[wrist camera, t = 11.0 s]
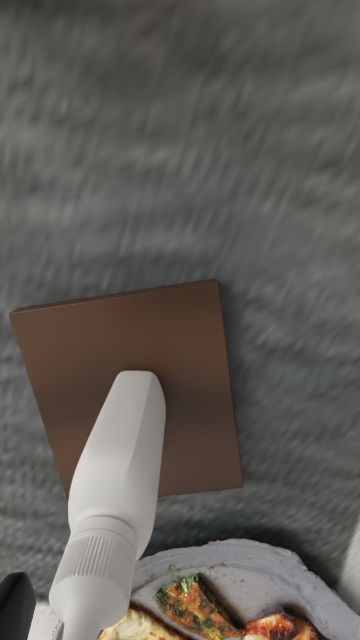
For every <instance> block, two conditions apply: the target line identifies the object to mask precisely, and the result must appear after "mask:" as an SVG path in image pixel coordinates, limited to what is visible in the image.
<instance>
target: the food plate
mask: <svg viewBox="0 0 360 640" xmlns="http://www.w3.org/2000/svg"><path fill="white" fill-rule="evenodd" d="M154 553H155V552H154ZM299 561H300V562H301V563H303V562H302V560H301V559H300V558H299V557H298V555H297V554H296V553H295V552H292V551H290V550H287V549H283V548H281V547H275V546H272V545H271V544H266V543H259V542H257V541H254V540H253V541H251V540H247V539H232V538H229V539H228V540H225V541H221V542H220V541H219V540H218V541H217V542H216V541H214V542H209V543H208V544H205V545H203V546H201V547H198V546H197V547H196V546H194V547H190V548H188V547H187V548H180V549H179V548H177V549H175V548H173V549H172V550H166V551H161V552H158V553H157V554H156V553H155V555H153V556H146V557H144V558H143V559H140V560H139V561H136V562H135V568H134V574H133V581H132V588H131V595H130V601H129V608H128V611H127V612H126V614H125V616H124V617H123V619H121V620H120V621H119V622H118V623H117V624H115V625H114V626H112V627H110V628H107V629H103V630H100V632H99V634H98V636H97V639H96V640H360V616H359V615H358V614H357V613H355V612H354V611H353V609H352V608H351V607H349V605H348V604H347V603H346V602H345V601H344V600H343V599H342V598H341V597H340V596H339V595H338V594H337V593H336V592H335V590H334V589H331V588H330V587H328V586H327V585H326V584H325V582H324V581H323V580H322V579H321V578H320V576H319V575H318V576H316V575H315V574H314V573H313V572H310V571H308V570H307V567H306V566H304V565H305V564H304V563H303V564H304V565H302V564H301V563H300V562H299ZM53 632H54V635H53V634H52V635H53V639H52V640H62V639H63V632H64V622H62V621H61V620H60V619H59V624H57V626H56V630H55V631H53Z"/></svg>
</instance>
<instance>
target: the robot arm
mask: <svg viewBox="0 0 360 640" xmlns="http://www.w3.org/2000/svg"><path fill="white" fill-rule="evenodd" d="M35 606H36V593H35V591H34V588H33V586H32V583H31V581H30V578H29V576H28V574H27V573H26V572H17V573H11V574H9V575H8V576H6V577H5V578H4V579H3V580H2V581H1V582H0V640H27V638H28V634H29V630H30V626H31V622H32V618H33V614H34V610H35Z"/></svg>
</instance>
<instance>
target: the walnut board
mask: <svg viewBox="0 0 360 640" xmlns="http://www.w3.org/2000/svg"><path fill="white" fill-rule="evenodd" d="M9 316H10V319H11V322H12V325H13V328H14V331H15V335H16V338H17V341H18V344H19V347H20V350H21V354H22V357H23V360H24V363H25V366H26V369H27V373H28V376H29V379H30V382H31V385H32V388H33V392H34V395H35V398H36V401H37V404H38V407H39V411H40V414H41V417H42V420H43V423H44V426H45V430H46V433H47V436H48V439H49V442H50V445H51V449H52V452H53V455H54V458H55V461H56V464H57V468H58V471H59V474H60V477H61V480H62V483H63V487H64V490H65V493H66V496H67V499H68V502H69V494H70V488H71V483H72V480H73V476H74V473H75V470H76V467H77V464H78V462H79V459H80V457H81V455H82V452H83V450H84V448H85V445H86V443H87V441H88V438H89V436H90V434H91V432H92V429H93V427H94V425H95V423H96V420H97V418H98V416H99V414H100V412H101V409H102V407H103V405H104V403H105V401H106V398H107V396H108V394H109V392H110V390H111V388H112V385H113V383H114V381H115V379H116V377H117V375H118V374H119V373H120V372H122V371H149V372H152V373H154V374H155V375H156V376H157V378H158V380H159V382H160V385H161V387H162V390H163V394H164V398H165V406H166V419H165V429H164V438H163V448H162V458H161V467H160V477H159V486H158V496H157V497H161V496H170V495H179V494H188V493H197V492H206V491H215V490H224V489H233V488H242V487H243V480H242V472H241V464H240V455H239V447H238V439H237V431H236V422H235V414H234V406H233V398H232V390H231V381H230V373H229V365H228V357H227V349H226V340H225V332H224V324H223V316H222V308H221V299H220V291H219V283H218V281H217V279H210V280H203V281H196V282H190V283H183V284H176V285H170V286H163V287H156V288H150V289H143V290H136V291H130V292H123V293H116V294H110V295H103V296H96V297H90V298H83V299H76V300H70V301H63V302H56V303H50V304H43V305H36V306H30V307H23V308H18V309H16V310H14V311H12V312H10V313H9Z"/></svg>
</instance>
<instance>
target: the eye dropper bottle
mask: <svg viewBox="0 0 360 640" xmlns="http://www.w3.org/2000/svg"><path fill="white" fill-rule="evenodd" d="M165 419H166V406H165V398H164V394H163V390H162V387H161V385H160V382H159V380H158V378H157V376H156V375H155V374H154V373H152V372H149V371H122V372H120V373H119V374H118V375H117V377H116V379H115V381H114V383H113V385H112V388H111V390H110V392H109V394H108V396H107V398H106V401H105V403H104V405H103V407H102V409H101V412H100V414H99V416H98V418H97V420H96V423H95V425H94V427H93V429H92V432H91V434H90V436H89V438H88V441H87V443H86V445H85V448H84V450H83V452H82V455H81V457H80V459H79V462H78V464H77V467H76V470H75V473H74V476H73V480H72V483H71V488H70V494H69V503H68V516H69V525H70V530H71V535H70V538H69V540H68V543H67V546H66V548H65V551H64V554H63V557H62V559H61V562H60V565H59V567H58V570H57V573H56V575H55V578H54V581H53V583H52V586H51V589H50V592H49V603H50V606H51V609H52V611H53V612H54V614H55V615H56V616H57V617H58V618H59V619H60V620H61V621H62V622H64V632H63V639H62V640H96V639H97V636H98V634H99V632H100V630H103V629H107V628H110V627H112V626H114V625H115V624H117V623H118V622H119V621H120V620H121V619H123V617H124V616H125V614H126V612H127V611H128V608H129V601H130V595H131V588H132V581H133V574H134V568H135V562H136V561H137V560H138V559H139V558H140V557H141V555H142V554H143V552H144V550H145V549H146V547H147V545H148V542H149V540H150V537H151V534H152V531H153V526H154V521H155V514H156V505H157V496H158V486H159V477H160V467H161V458H162V448H163V438H164V429H165Z"/></svg>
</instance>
